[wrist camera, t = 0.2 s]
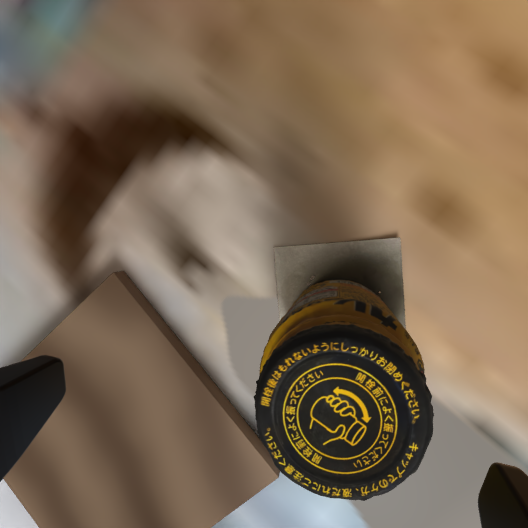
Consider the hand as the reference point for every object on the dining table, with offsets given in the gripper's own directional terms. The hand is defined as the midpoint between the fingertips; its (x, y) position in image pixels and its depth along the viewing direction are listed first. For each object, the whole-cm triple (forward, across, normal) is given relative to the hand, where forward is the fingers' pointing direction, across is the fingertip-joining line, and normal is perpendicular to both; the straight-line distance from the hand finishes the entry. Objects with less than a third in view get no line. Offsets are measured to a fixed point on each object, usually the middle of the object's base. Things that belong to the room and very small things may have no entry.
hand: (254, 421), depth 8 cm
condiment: (+15, -2, +4) cm, 16 cm away
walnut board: (+12, +11, +15) cm, 22 cm away
